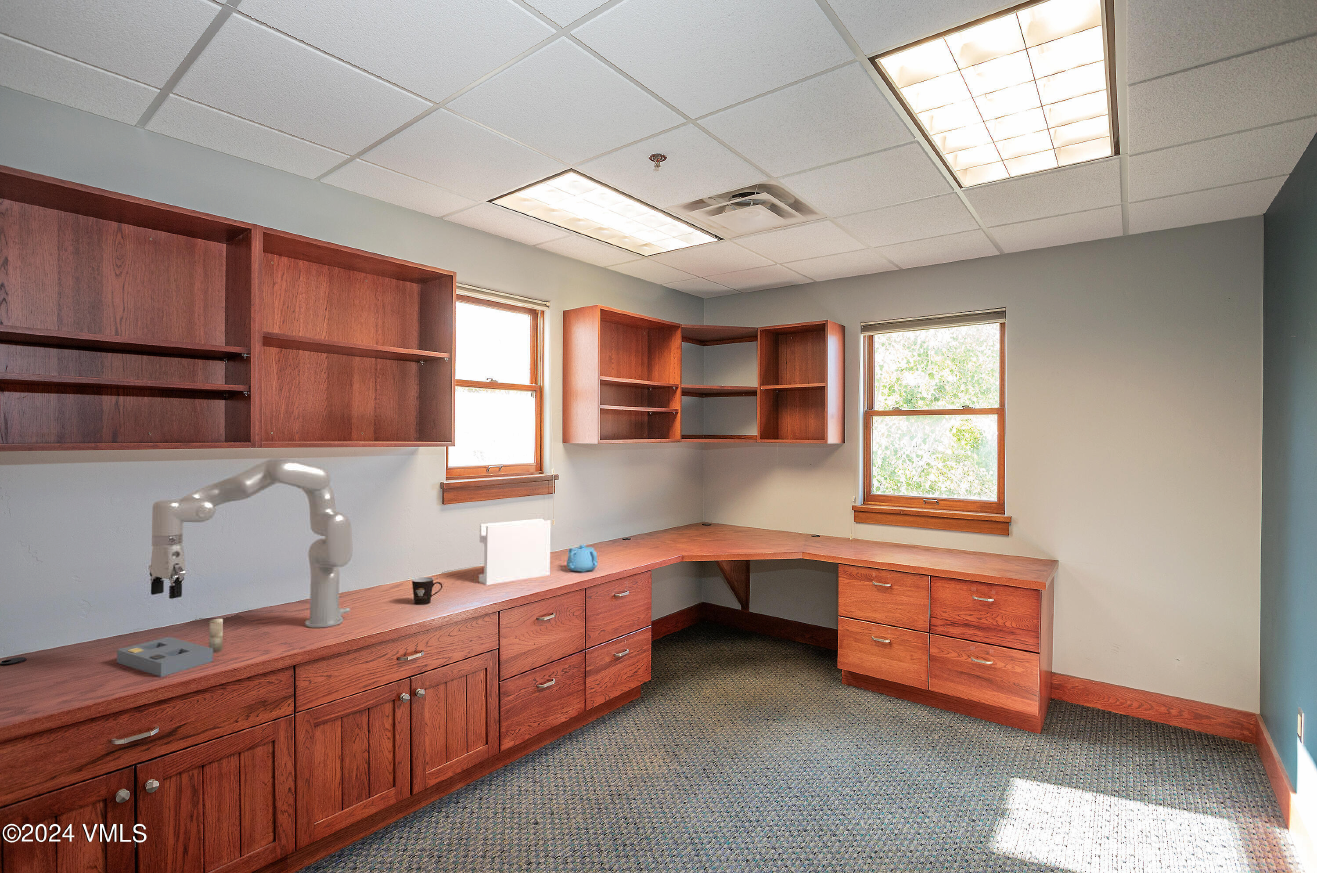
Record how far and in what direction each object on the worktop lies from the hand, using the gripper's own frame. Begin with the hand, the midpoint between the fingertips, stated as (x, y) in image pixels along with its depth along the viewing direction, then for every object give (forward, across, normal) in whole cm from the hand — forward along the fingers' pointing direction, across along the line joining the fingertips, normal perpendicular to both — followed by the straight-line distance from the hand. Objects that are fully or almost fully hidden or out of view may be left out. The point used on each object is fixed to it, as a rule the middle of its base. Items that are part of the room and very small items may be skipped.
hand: (166, 595), depth 193 cm
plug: (+20, -3, -13) cm, 25 cm away
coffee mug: (+20, -19, -87) cm, 91 cm away
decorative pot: (+20, -42, -174) cm, 180 cm away
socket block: (+20, 0, 0) cm, 21 cm away
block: (+20, -23, -142) cm, 145 cm away
